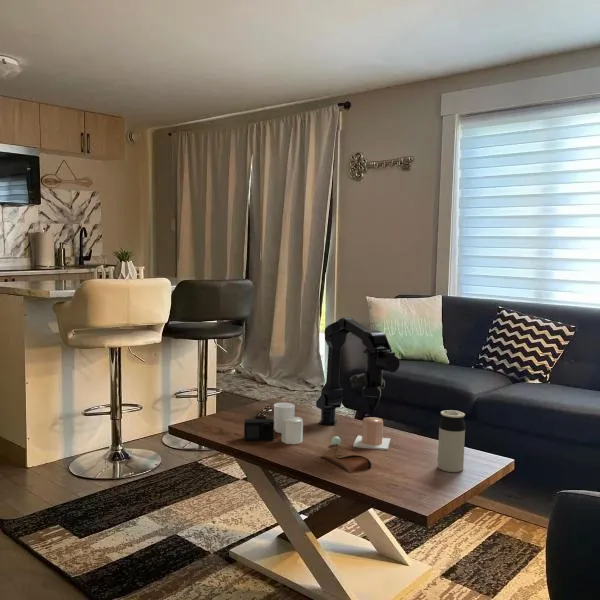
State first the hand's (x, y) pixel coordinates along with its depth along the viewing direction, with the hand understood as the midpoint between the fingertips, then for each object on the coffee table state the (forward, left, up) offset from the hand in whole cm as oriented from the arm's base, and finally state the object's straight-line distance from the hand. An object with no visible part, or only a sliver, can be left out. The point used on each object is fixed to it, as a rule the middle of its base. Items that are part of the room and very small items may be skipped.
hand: (373, 410), depth 216 cm
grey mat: (0, 0, -12) cm, 12 cm away
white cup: (-5, -34, -12) cm, 36 cm away
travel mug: (+18, +27, -12) cm, 35 cm away
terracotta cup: (0, 0, -11) cm, 11 cm away
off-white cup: (+6, -28, -12) cm, 31 cm away
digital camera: (+8, -40, -12) cm, 42 cm away
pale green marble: (+6, -12, -12) cm, 18 cm away
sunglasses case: (+22, -7, -13) cm, 27 cm away
